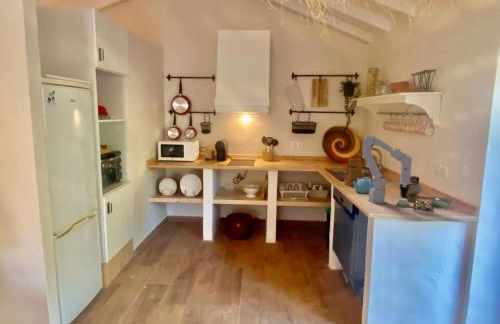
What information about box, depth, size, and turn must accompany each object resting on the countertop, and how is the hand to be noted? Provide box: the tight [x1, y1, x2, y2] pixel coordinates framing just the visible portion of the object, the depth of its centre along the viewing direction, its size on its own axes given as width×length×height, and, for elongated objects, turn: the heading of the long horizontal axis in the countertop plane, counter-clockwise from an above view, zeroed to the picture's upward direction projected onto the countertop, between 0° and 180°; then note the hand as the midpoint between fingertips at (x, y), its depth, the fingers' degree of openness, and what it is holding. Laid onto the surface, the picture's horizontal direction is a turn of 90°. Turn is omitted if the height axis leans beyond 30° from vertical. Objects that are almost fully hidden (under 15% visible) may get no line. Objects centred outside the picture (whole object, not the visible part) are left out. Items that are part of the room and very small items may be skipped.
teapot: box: [353, 177, 374, 195], centre depth 243 cm, size 15×15×11 cm
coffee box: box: [399, 175, 420, 202], centre depth 221 cm, size 9×6×16 cm
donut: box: [418, 183, 423, 196], centre depth 232 cm, size 10×4×10 cm, turn 88°
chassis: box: [412, 198, 433, 212], centre depth 203 cm, size 13×10×4 cm
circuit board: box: [396, 197, 410, 209], centre depth 208 cm, size 10×7×4 cm
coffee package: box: [344, 157, 363, 187], centre depth 264 cm, size 10×12×22 cm
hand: (403, 196), depth 207 cm, fingers open, 7 cm apart
